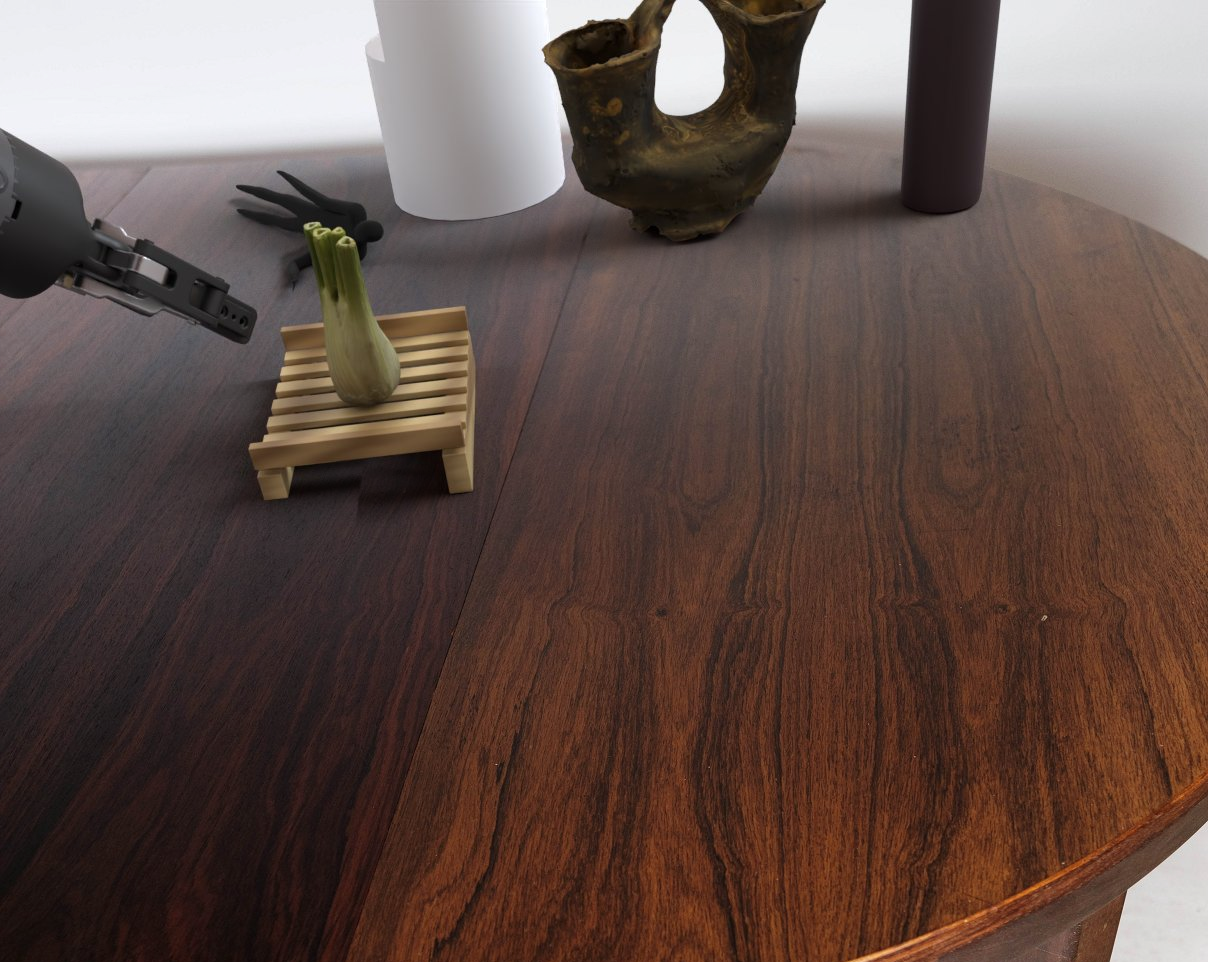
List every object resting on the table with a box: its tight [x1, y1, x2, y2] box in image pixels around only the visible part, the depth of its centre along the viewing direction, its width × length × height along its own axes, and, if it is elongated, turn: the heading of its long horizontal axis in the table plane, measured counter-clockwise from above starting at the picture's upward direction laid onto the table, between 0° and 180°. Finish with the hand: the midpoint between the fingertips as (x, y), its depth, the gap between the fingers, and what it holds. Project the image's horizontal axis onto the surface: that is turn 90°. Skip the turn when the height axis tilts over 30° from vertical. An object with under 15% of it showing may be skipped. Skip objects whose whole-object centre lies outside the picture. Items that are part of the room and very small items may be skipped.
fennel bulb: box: [303, 222, 402, 407], centre depth 88 cm, size 6×5×12 cm
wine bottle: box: [900, 0, 1002, 214], centre depth 107 cm, size 7×7×30 cm
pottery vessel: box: [542, 0, 827, 242], centre depth 112 cm, size 25×11×20 cm, turn 112°
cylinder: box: [364, 0, 566, 222], centre depth 121 cm, size 17×17×28 cm
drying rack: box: [248, 305, 477, 501], centre depth 93 cm, size 14×18×5 cm
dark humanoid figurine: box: [235, 169, 385, 293], centre depth 120 cm, size 8×9×25 cm
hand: (201, 314), depth 78 cm, fingers open, 8 cm apart
